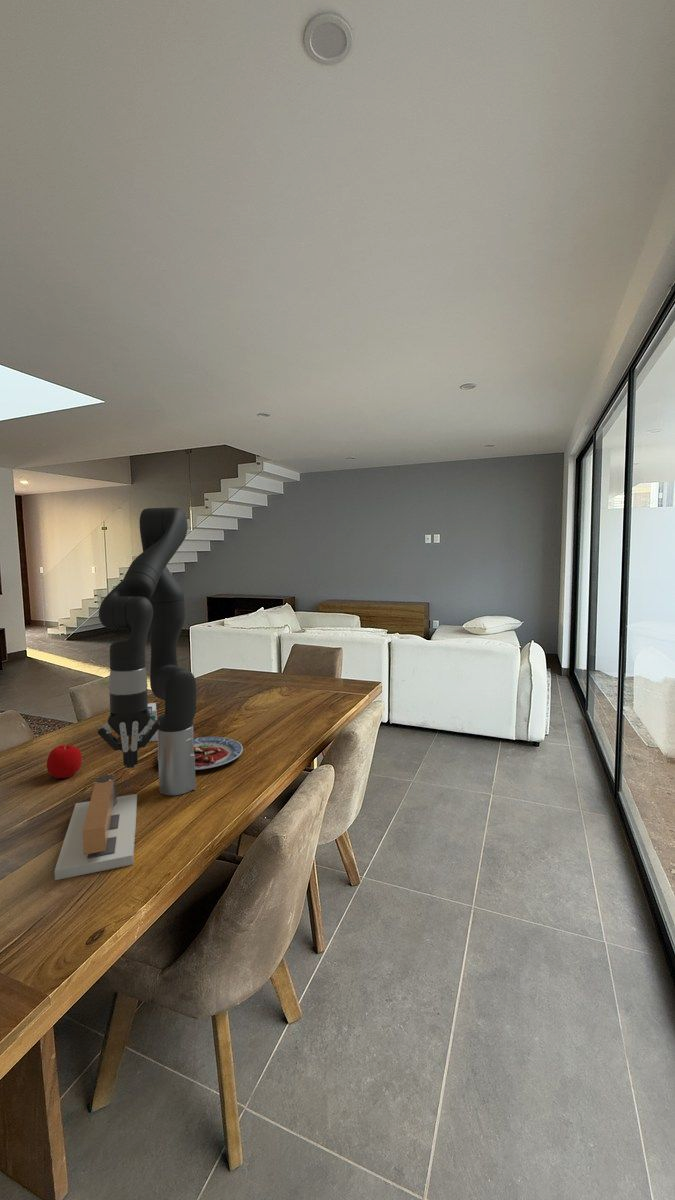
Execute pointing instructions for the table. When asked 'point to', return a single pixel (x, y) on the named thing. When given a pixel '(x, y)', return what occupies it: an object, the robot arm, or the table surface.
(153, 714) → the light bulb box
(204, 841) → the table surface
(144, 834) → the table surface
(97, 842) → the swing arm
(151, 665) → the robot arm
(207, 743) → the ceramic plate
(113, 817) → the label board
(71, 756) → the fruit
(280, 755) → the table surface
